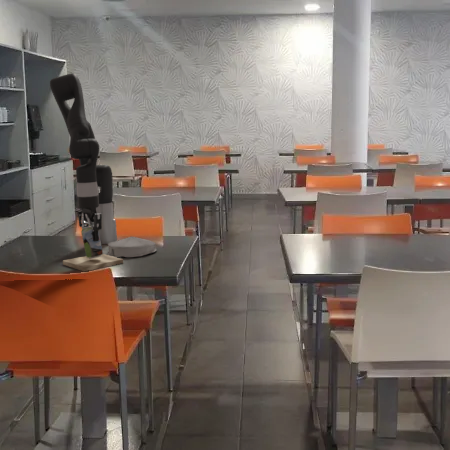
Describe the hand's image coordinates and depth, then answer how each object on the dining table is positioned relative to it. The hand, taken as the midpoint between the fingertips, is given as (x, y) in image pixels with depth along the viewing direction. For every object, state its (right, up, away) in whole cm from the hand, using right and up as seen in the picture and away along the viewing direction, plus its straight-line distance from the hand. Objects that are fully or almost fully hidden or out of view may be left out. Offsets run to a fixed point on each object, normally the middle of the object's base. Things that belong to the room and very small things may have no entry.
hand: (91, 239), depth 232 cm
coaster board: (0, -9, +1) cm, 9 cm away
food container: (+12, -6, +19) cm, 24 cm away
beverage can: (+1, -7, +1) cm, 7 cm away
